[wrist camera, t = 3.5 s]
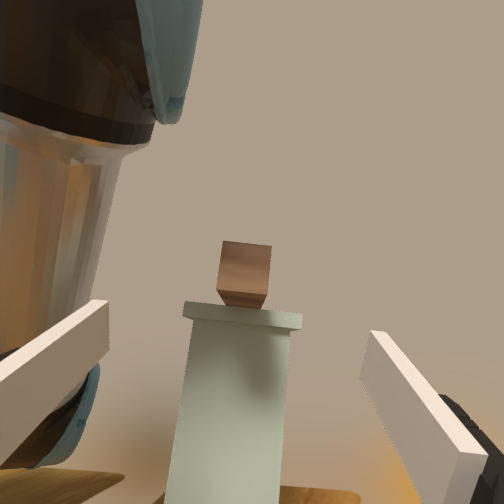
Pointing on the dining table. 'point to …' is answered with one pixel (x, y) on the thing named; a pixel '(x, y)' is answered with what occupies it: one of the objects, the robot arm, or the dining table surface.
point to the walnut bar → (244, 274)
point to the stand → (231, 407)
